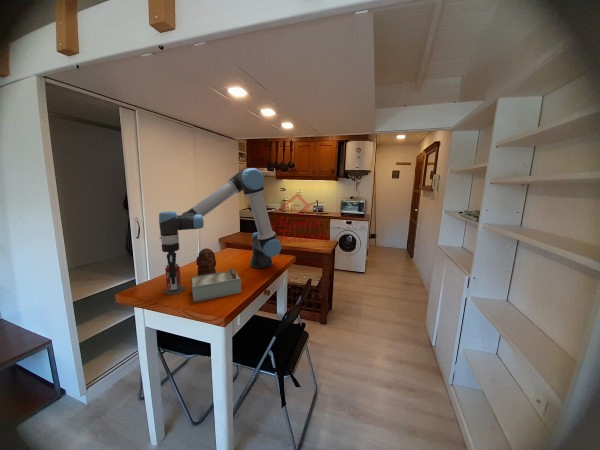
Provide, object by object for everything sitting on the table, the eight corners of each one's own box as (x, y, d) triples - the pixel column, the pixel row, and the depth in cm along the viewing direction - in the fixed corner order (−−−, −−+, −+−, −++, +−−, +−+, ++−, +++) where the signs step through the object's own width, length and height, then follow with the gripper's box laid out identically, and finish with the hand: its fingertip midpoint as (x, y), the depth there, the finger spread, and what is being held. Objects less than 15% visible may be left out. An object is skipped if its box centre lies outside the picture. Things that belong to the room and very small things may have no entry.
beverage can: (170, 284, 117) (168, 263, 115) (183, 284, 117) (181, 262, 115) (164, 290, 111) (162, 267, 109) (177, 289, 111) (175, 267, 109)
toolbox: (235, 282, 124) (235, 269, 123) (241, 292, 113) (240, 278, 112) (192, 291, 114) (191, 277, 113) (193, 302, 103) (192, 287, 101)
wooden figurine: (206, 283, 124) (204, 252, 121) (196, 282, 125) (194, 251, 122) (218, 275, 135) (217, 246, 132) (209, 274, 136) (207, 245, 133)
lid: (235, 272, 122) (234, 266, 122) (239, 280, 112) (239, 273, 112) (192, 279, 112) (191, 273, 112) (193, 288, 102) (192, 281, 102)
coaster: (184, 285, 120) (184, 284, 120) (184, 292, 112) (184, 291, 112) (165, 288, 116) (164, 288, 116) (163, 296, 108) (163, 295, 108)
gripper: (162, 239, 117) (166, 280, 121) (159, 248, 100) (164, 296, 104) (179, 238, 120) (182, 278, 124) (178, 246, 103) (182, 292, 107)
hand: (174, 286), depth 114 cm, fingers closed on beverage can, 6 cm apart
